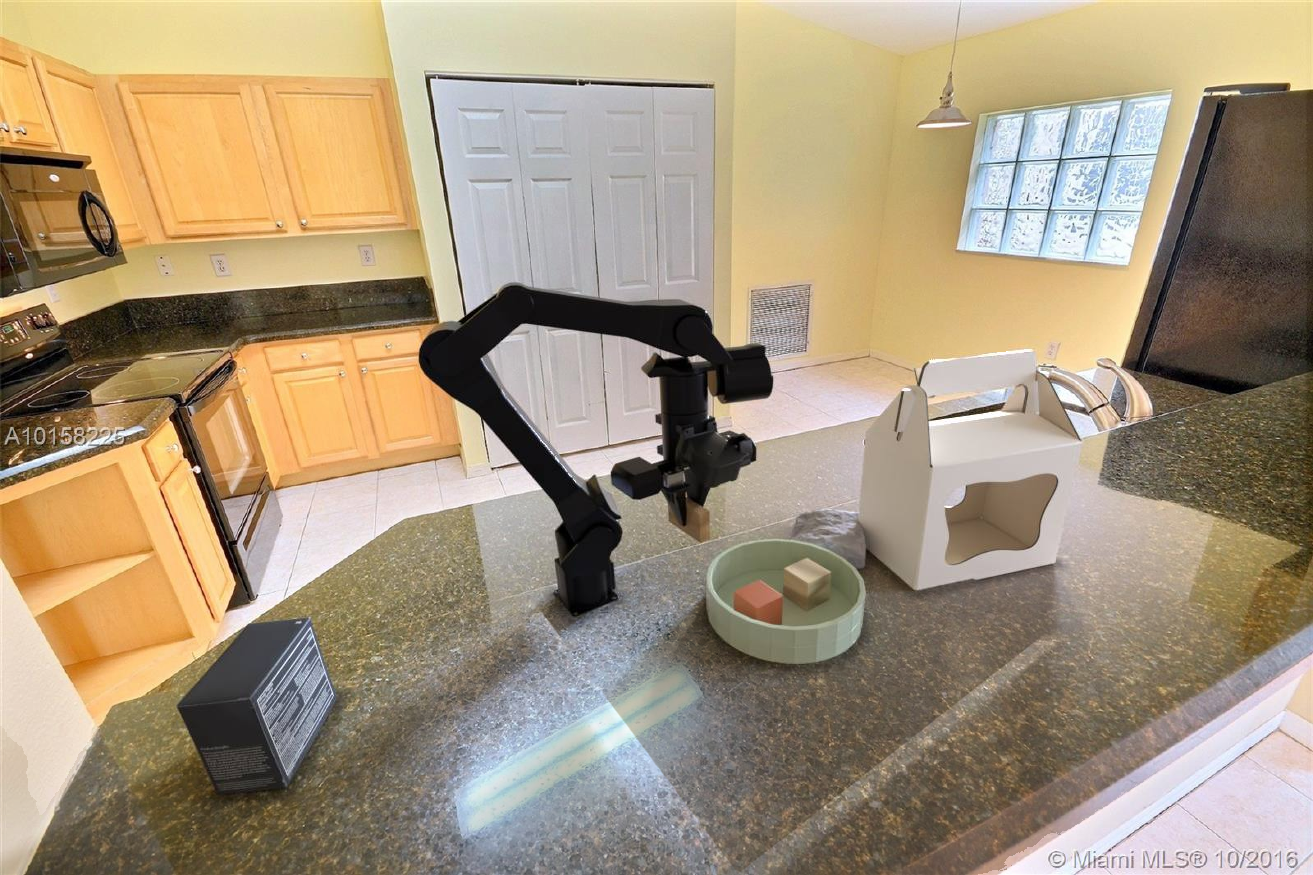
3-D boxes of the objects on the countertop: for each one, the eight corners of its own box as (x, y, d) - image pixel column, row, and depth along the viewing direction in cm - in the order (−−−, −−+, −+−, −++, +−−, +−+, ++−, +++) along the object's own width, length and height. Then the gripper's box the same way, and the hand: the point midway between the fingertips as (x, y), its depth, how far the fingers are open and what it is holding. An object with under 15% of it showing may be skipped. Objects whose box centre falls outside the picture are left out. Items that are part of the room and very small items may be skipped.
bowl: (780, 694, 58) (782, 654, 56) (677, 603, 73) (676, 569, 71) (895, 624, 67) (899, 588, 65) (783, 556, 82) (784, 525, 80)
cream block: (806, 611, 69) (808, 583, 68) (782, 595, 72) (783, 568, 71) (829, 599, 71) (831, 572, 70) (805, 584, 74) (806, 557, 73)
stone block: (796, 580, 79) (873, 571, 76) (789, 550, 78) (866, 539, 75) (795, 538, 90) (862, 528, 87) (789, 511, 89) (856, 500, 86)
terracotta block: (756, 638, 65) (756, 608, 64) (733, 619, 68) (733, 591, 67) (782, 624, 67) (783, 595, 66) (758, 607, 70) (759, 579, 69)
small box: (275, 703, 60) (246, 620, 56) (340, 697, 60) (315, 614, 57) (210, 797, 50) (169, 704, 46) (288, 789, 50) (253, 696, 47)
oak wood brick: (700, 543, 72) (699, 514, 70) (668, 521, 77) (667, 494, 76) (710, 539, 72) (709, 510, 71) (678, 517, 78) (677, 491, 77)
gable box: (982, 518, 89) (1013, 338, 79) (1057, 563, 77) (1104, 357, 67) (853, 542, 84) (869, 353, 74) (912, 594, 72) (941, 377, 62)
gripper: (655, 445, 58) (663, 577, 63) (789, 407, 67) (785, 525, 73) (603, 418, 67) (613, 536, 72) (728, 388, 76) (728, 494, 82)
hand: (688, 523), depth 75 cm, fingers closed on oak wood brick, 2 cm apart
